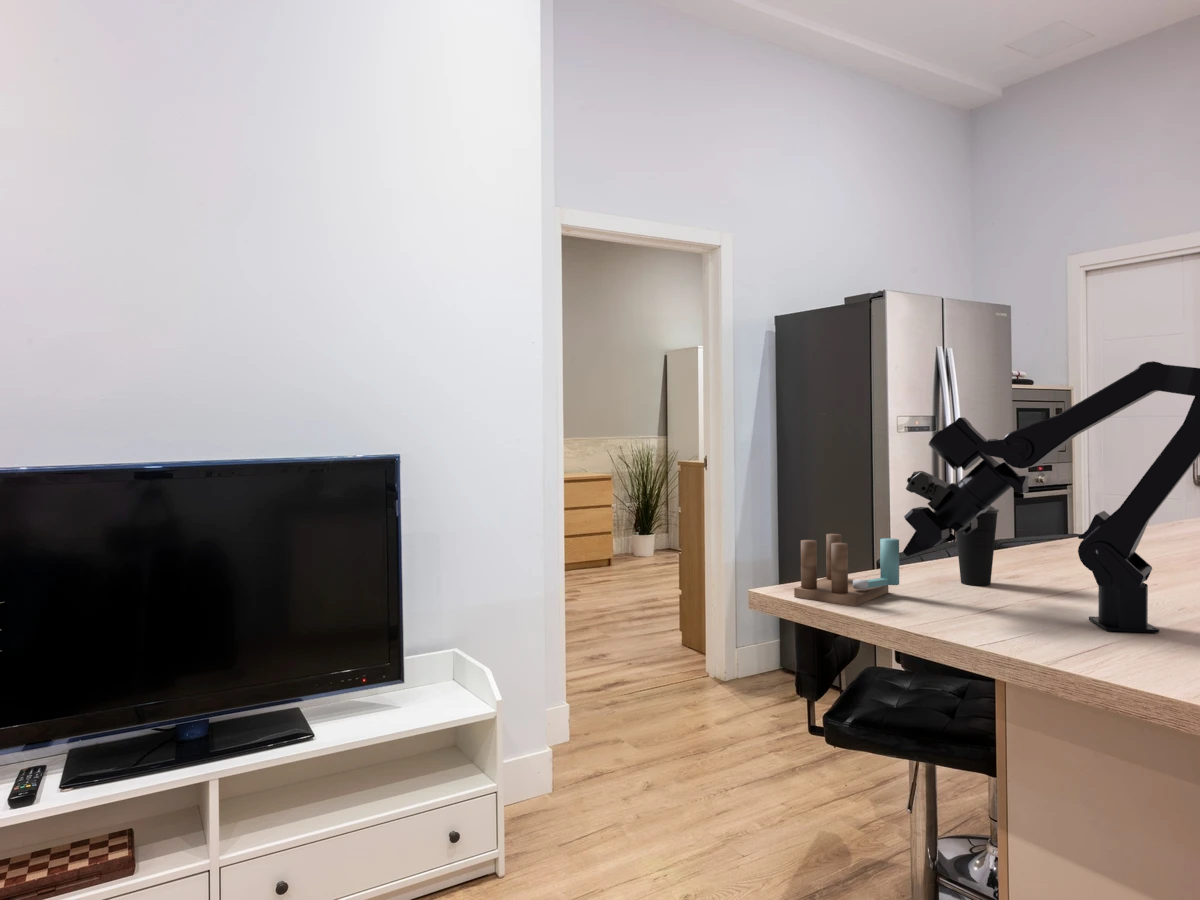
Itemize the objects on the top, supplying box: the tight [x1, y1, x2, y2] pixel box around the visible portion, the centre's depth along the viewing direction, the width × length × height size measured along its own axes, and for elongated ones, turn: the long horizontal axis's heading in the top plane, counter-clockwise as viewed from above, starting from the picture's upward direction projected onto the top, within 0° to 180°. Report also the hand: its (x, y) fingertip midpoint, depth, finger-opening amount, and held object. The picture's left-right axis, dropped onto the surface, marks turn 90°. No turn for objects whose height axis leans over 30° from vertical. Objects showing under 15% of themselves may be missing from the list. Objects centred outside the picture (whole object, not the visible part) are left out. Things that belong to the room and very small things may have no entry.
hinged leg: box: [853, 537, 900, 590], centre depth 127 cm, size 10×3×8 cm, turn 118°
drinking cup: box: [955, 504, 1000, 587], centre depth 137 cm, size 8×8×20 cm
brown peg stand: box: [793, 533, 889, 607], centre depth 130 cm, size 11×13×10 cm
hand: (905, 553), depth 127 cm, fingers closed
